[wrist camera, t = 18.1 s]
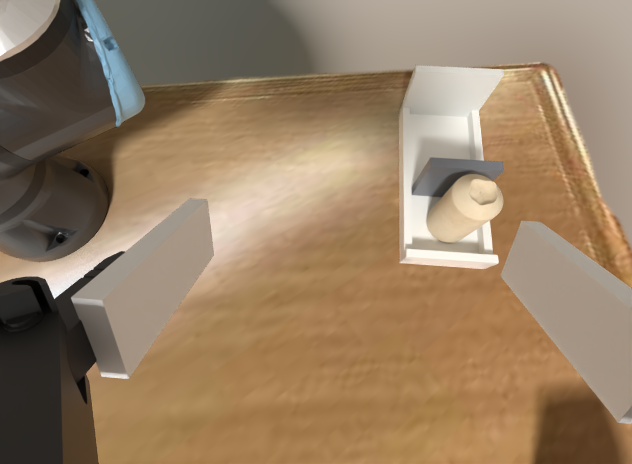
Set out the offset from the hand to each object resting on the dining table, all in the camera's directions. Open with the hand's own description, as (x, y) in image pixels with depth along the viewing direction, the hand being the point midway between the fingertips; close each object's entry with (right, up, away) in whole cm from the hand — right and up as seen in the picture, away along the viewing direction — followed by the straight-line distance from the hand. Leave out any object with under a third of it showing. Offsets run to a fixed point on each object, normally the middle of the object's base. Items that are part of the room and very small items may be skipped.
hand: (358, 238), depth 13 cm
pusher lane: (+16, +7, +31) cm, 36 cm away
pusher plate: (+15, +6, +29) cm, 34 cm away
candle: (+16, +1, +28) cm, 32 cm away
